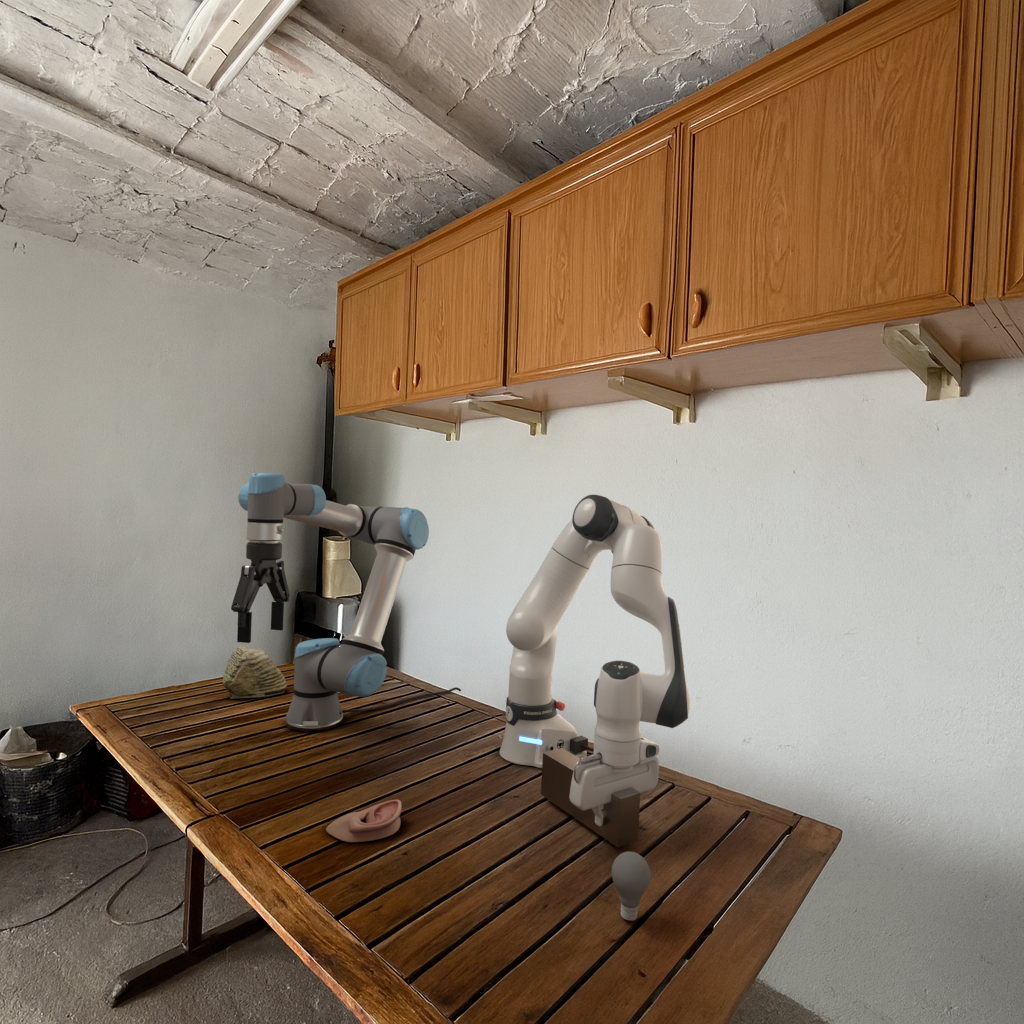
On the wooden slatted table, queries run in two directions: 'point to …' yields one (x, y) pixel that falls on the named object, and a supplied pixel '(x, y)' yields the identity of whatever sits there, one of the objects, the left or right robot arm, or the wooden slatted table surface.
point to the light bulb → (630, 881)
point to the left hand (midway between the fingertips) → (261, 635)
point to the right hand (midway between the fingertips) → (613, 820)
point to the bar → (618, 811)
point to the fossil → (252, 674)
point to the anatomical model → (368, 823)
